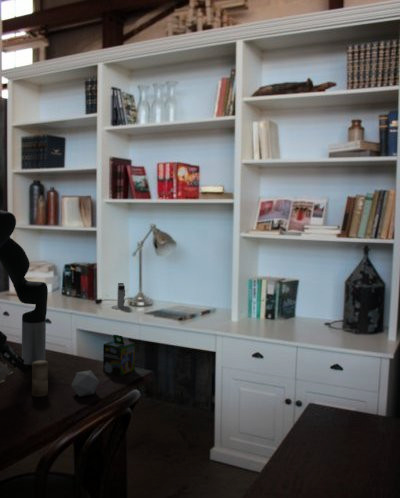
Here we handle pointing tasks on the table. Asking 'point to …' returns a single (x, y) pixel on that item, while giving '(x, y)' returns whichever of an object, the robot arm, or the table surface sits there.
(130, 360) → the chalk box
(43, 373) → the oak cylinder
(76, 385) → the die
